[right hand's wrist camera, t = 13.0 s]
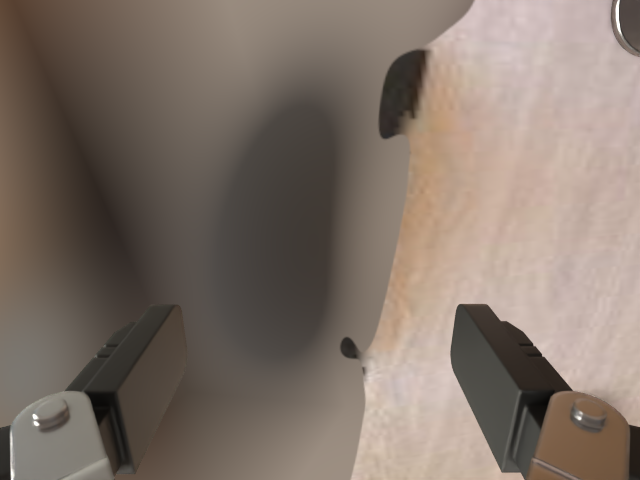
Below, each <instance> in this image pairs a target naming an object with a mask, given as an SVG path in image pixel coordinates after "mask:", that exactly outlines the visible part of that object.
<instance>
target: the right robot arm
mask: <svg viewBox="0 0 640 480" xmlns="http://www.w3.org/2000/svg"><path fill="white" fill-rule="evenodd" d="M611 22H612V28H613V32H614V35H615V37H616V39H617V41H618V42H619V44H620V45H621V46H622V47H623V48H624V49H625V50H626V51H628V52H629V53H631V54H633V55H635V56H638V57H640V0H613V3H612V9H611ZM186 364H187V345H186V338H185V331H184V323H183V316H182V310H181V308H180V306H179V305H151V306H149V307H148V309H147V310H146V311H145V312H144V314H143V315H142V316H141V317H140V319H139V320H138V321H137V322H130V323H129V324H127V325H126V326H124V327H122V328H121V329H119V330H118V331H116V332H115V333H114V334H113V335H112V336H111V337H110V338H109V340H108V341H107V342H106V343H105V344H104V347H102V348H101V349H100V350H99V351H98V352H97V354H96V355H95V358H92V359H91V361H90V362H89V363H88V364H87V365H86V367H85V368H84V369H83V370H82V371H81V372H80V374H79V375H78V376H77V377H76V378H75V379H74V381H73V382H72V383H71V384H70V385H69V386H68V388H67V389H66V390H65V391H64V392H59V393H56V394H52V395H49V396H47V397H44V398H42V399H40V400H38V401H36V402H34V403H33V404H31V405H29V406H28V407H27V408H25V409H24V410H23V411H22V412H21V413H20V414H19V415H18V416H17V417H16V418H15V419H14V421H13V423H12V425H10V426H6V427H2V428H0V480H115V479H114V477H115V475H116V474H135V473H136V471H137V469H138V467H139V465H140V463H141V461H142V459H143V457H144V455H145V453H146V451H147V448H148V446H149V444H150V442H151V440H152V438H153V436H154V434H155V432H156V430H157V428H158V426H159V424H160V422H161V420H162V417H163V415H164V413H165V411H166V409H167V407H168V405H169V403H170V401H171V399H172V397H173V395H174V393H175V391H176V389H177V386H178V384H179V382H180V380H181V378H182V376H183V374H184V372H185V369H186ZM451 364H452V368H453V371H454V373H455V376H456V378H457V380H458V382H459V384H460V386H461V388H462V390H463V392H464V394H465V396H466V399H467V401H468V403H469V405H470V407H471V409H472V411H473V413H474V415H475V417H476V419H477V422H478V424H479V426H480V428H481V430H482V432H483V434H484V436H485V438H486V440H487V442H488V444H489V447H490V449H491V451H492V453H493V455H494V457H495V459H496V461H497V463H498V465H499V467H500V470H501V472H521V474H522V476H523V478H524V479H525V480H640V427H637V426H632V425H628V423H627V421H626V419H625V418H624V417H623V416H622V415H621V414H620V413H619V412H618V411H617V410H616V409H615V408H613V407H612V406H611V405H609V404H607V403H606V402H604V401H602V400H600V399H598V398H596V397H593V396H591V395H588V394H585V393H581V392H575V391H573V390H572V389H571V388H570V387H569V385H568V384H567V383H566V382H565V381H564V380H563V378H562V377H561V376H560V375H559V374H558V373H557V371H556V370H555V369H554V368H553V367H552V365H551V364H550V363H549V362H548V361H547V360H546V358H545V357H542V354H541V352H540V351H539V350H538V349H537V348H536V347H535V346H533V343H532V342H531V341H530V340H529V338H528V337H527V336H526V335H525V334H524V332H523V331H521V330H519V329H518V328H516V327H515V326H513V325H512V324H510V323H509V322H507V321H500V320H499V318H498V317H497V316H496V315H495V313H494V312H493V311H492V310H491V308H490V307H489V306H488V305H487V304H459V305H458V307H457V310H456V315H455V322H454V329H453V337H452V344H451Z"/></svg>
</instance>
